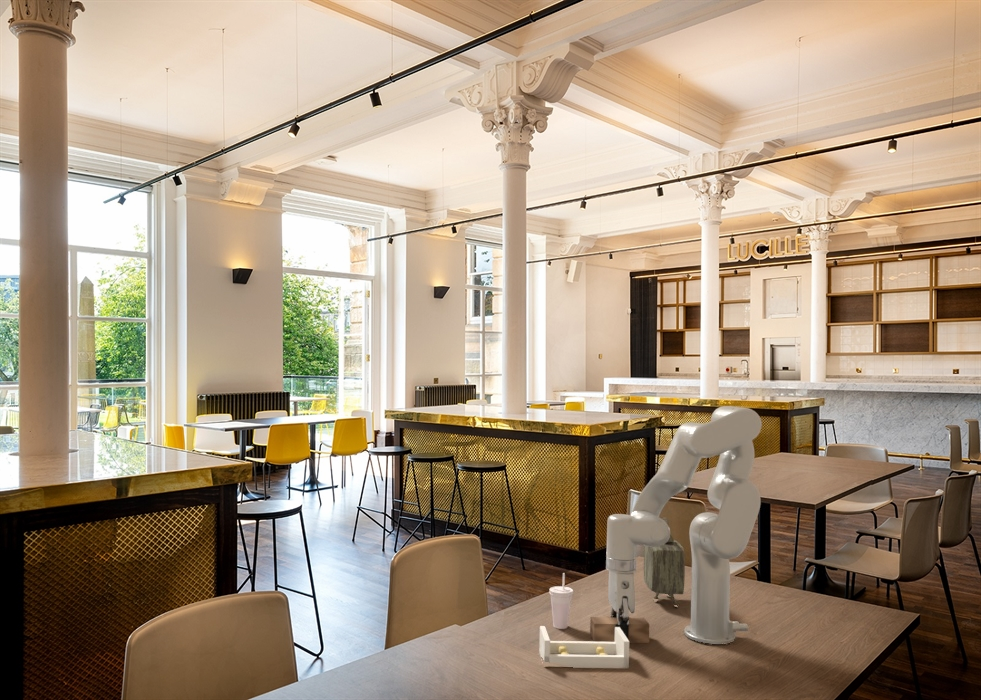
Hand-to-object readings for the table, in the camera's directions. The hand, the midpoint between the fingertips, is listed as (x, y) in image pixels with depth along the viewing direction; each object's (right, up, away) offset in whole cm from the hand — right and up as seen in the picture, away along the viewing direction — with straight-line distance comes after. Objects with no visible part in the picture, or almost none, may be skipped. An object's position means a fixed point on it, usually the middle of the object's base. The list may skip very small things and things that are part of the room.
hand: (619, 635), depth 179 cm
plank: (0, -1, 0) cm, 1 cm away
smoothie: (-14, -1, +7) cm, 16 cm away
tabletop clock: (+19, -3, +31) cm, 36 cm away
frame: (-11, 0, -15) cm, 18 cm away
